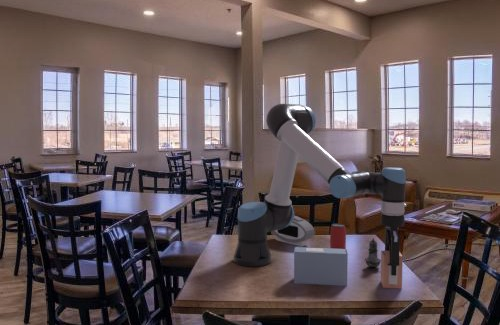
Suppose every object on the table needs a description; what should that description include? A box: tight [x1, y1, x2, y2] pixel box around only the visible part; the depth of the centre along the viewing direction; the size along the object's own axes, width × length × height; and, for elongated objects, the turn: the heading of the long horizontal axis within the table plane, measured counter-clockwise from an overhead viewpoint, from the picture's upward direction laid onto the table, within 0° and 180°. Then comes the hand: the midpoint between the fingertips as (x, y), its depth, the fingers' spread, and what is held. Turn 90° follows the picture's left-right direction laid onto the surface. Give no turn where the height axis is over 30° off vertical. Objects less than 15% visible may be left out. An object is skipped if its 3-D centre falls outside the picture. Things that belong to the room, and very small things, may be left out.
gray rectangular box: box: [293, 246, 349, 287], centre depth 147 cm, size 18×6×12 cm, turn 81°
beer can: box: [329, 223, 347, 250], centre depth 183 cm, size 7×7×12 cm
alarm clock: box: [271, 215, 316, 247], centre depth 199 cm, size 23×6×13 cm, turn 43°
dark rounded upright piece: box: [364, 238, 381, 271], centre depth 160 cm, size 6×6×12 cm
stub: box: [380, 250, 404, 289], centre depth 143 cm, size 6×6×11 cm
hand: (391, 280), depth 143 cm, fingers closed on stub, 6 cm apart
